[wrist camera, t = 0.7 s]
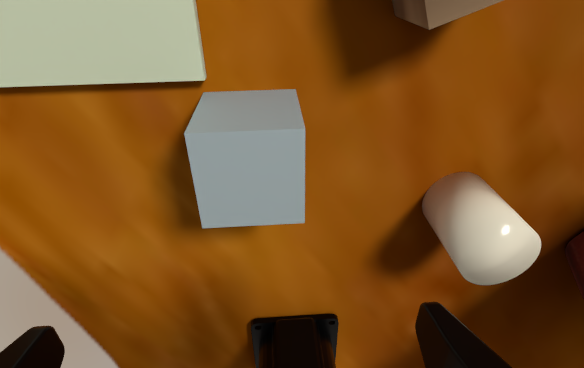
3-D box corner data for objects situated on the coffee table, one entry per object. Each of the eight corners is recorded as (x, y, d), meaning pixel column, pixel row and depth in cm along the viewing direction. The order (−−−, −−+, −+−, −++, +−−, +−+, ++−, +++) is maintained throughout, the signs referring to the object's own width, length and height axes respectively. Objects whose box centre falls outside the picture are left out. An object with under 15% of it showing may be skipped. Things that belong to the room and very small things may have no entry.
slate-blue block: (296, 168, 20) (304, 222, 16) (215, 171, 20) (202, 228, 15) (295, 88, 18) (305, 128, 13) (203, 91, 17) (184, 133, 13)
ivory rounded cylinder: (477, 223, 23) (525, 282, 19) (416, 226, 23) (451, 287, 19) (495, 170, 21) (553, 223, 17) (428, 173, 21) (470, 227, 16)
